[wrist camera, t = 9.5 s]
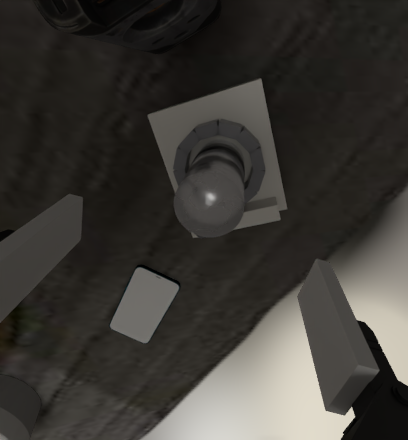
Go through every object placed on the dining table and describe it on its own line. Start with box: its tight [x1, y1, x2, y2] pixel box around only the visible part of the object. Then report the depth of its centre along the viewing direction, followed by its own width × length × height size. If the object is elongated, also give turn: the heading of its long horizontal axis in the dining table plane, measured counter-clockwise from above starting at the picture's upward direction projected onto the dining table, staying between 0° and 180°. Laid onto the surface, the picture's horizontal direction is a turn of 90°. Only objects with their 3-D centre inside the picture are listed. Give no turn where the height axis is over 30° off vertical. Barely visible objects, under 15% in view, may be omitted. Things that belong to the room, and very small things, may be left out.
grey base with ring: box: [148, 78, 287, 238], centre depth 34 cm, size 14×12×9 cm
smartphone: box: [109, 265, 180, 344], centre depth 51 cm, size 8×1×16 cm
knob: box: [174, 139, 245, 237], centre depth 27 cm, size 5×5×12 cm
